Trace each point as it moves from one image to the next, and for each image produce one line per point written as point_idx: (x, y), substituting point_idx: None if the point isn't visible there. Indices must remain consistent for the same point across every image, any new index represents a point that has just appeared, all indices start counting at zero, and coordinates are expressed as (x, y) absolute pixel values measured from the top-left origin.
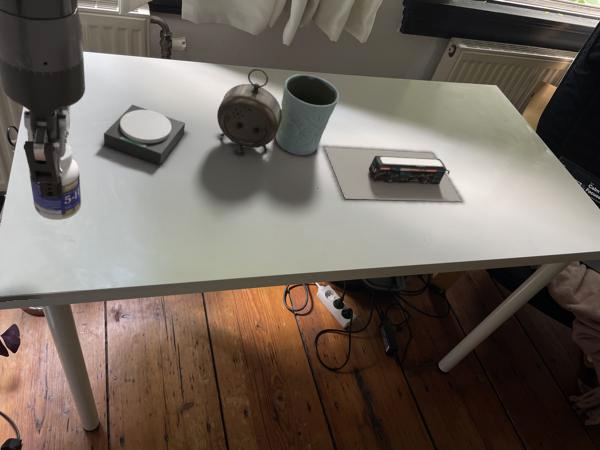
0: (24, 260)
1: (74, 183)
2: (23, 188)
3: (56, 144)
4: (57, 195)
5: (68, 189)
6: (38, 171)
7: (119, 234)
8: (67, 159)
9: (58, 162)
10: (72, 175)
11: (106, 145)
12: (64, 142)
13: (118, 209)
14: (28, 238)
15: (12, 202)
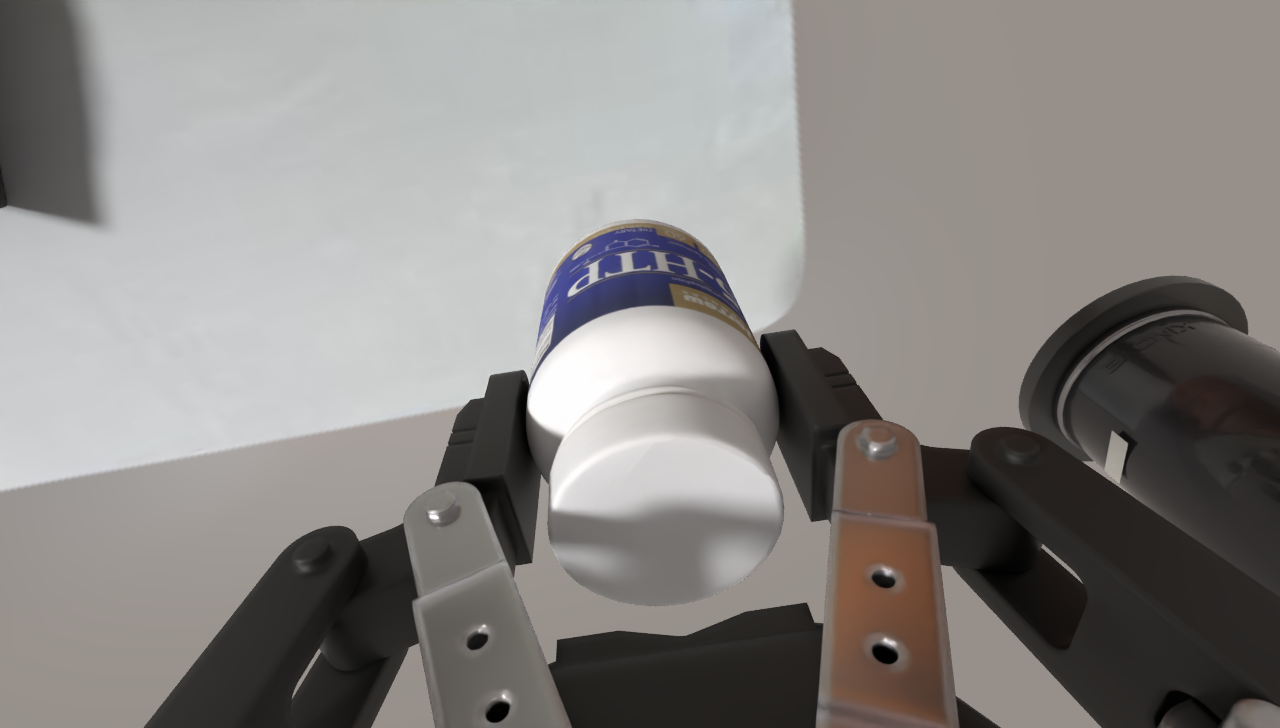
0: None
1: (706, 304)
2: (407, 392)
3: (600, 528)
4: (841, 361)
5: (738, 318)
6: (1005, 570)
7: (531, 28)
8: (726, 433)
9: (923, 507)
10: (713, 340)
11: (4, 196)
12: (913, 611)
13: (388, 60)
14: None
15: None
